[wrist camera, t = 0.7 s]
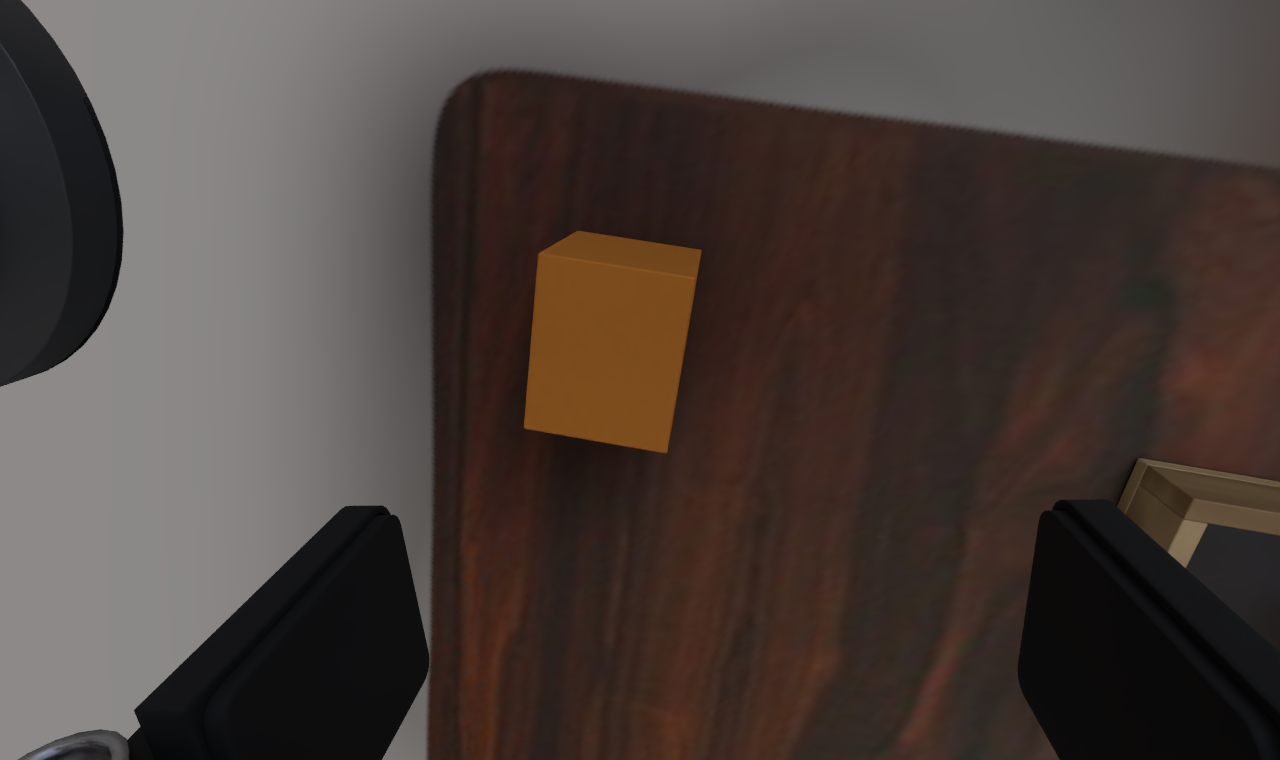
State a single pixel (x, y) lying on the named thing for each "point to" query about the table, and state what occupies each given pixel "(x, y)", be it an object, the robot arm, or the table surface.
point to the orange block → (609, 339)
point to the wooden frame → (1215, 533)
